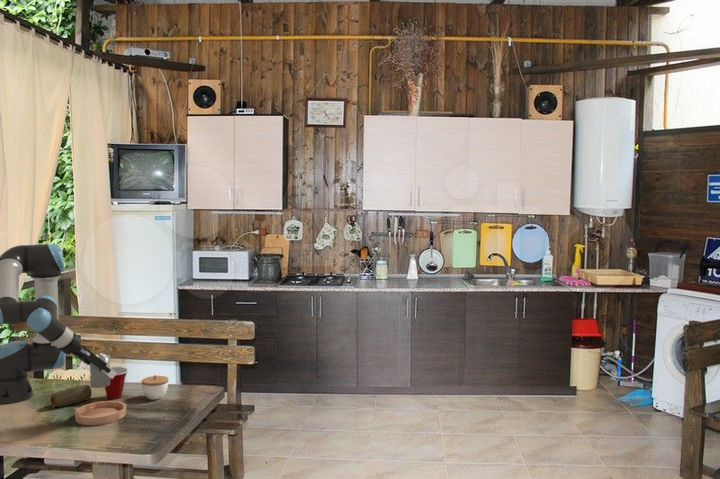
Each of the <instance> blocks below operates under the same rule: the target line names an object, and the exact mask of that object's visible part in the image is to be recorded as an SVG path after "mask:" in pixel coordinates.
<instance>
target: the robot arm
mask: <svg viewBox="0 0 720 479" xmlns="http://www.w3.org/2000/svg"><path fill="white" fill-rule="evenodd" d="M65 271H66V268H65V262H64V256H63V250H62V247H61V246H60V245H59V244H50V243H47V244H44V243H43V244H30V245H29V244H28V245H27V244H26V245H24V244H21V245H15V246H12V247H11V248H8V249H6V250H5V251H4V252H3V253H2V254H1V255H0V325H7V324H18V323H26V325H27V326H28V327H29V328H31V330H32V331H34V332H36V333H35V334H36V335H35V336H34V337H33V338H32V343H28V342H27V340H15V341H10V342H6V343H3V344H0V405H1V404H4V405H5V403H6V404H14V402H15V403H20V402H23V401H26V400H28V399H31V398H32V397H33V396H34V389H33V387H32V385H31V382H30V380H29V376H28V373H30V372H38V371H39V372H40V371H47V370H56V369H61V368H63V367H64V366H65V363H66V356H67V355H71V354H72V355H74V356H75V357H76V358H78V359H79V360H80V361H81V362H83V364H86V365H87V366H90V362H91V363H92V364H94V365H95V366H97V367H98V368H99V369H100V370H99V371H102V372H103V373H105V374H106V375H107V376H109V377H110V378H111V379H113V378H114V376H115V375H116V374H117V373H116V372H115V371H114V370H113V369H111V368H110V367H111V366H110V367H109V366H107V363H105V362H104V361H103V360H101V359H100V358H99V357H97V356H96V355H97V354H96V353H95V354H94V353H93V352H92V351H91V350H90V349H87V347H86V346H85V345H81V343H82V338H81V337H80V336H79V335H78V334H76V333H75V332H74V331H73V330H72V329H70V328H69V327H68V326H67V325H66V324H64V323H62V321H60V320H59V288H58V285H59V284H58V280H59V279H60V278H61V277H62V273H63V272H65ZM21 274H29V275H30V278H31V279H32V280H33V281H34V300H29V301H28V300H27V301H19V297H20V296H19V295H20V276H21ZM19 401H20V402H19Z"/></svg>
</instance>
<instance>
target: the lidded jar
mask: <svg viewBox="0 0 720 479" xmlns="http://www.w3.org/2000/svg"><path fill="white" fill-rule="evenodd" d="M141 388H142V392H143V394H144V396H145V397H147V399H148V400H151V401H153V400H160V399H162V398H163V397H164V395H166V393H167V392H168V388H169V378H168V377H167V376H165V375H155V374H154V375H152V376H148V377H145V378H143V379H141Z"/></svg>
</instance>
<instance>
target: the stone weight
mask: <svg viewBox="0 0 720 479" xmlns="http://www.w3.org/2000/svg"><path fill="white" fill-rule="evenodd" d="M91 398H92V387H91V385H90V384H88V385H87V384H83V385H77V386H74V387H73V386H72V387H70V388H66V389H64V390H63V389H62V390H60V391H57V392H55V393H53V394H51V395H50V399H49V400H50V404H51V405H52V407H54V408H56V407H57V408H60V407H65V406H70V405H75V404H78V403H81V402H85V401H88V400H89V399H91Z"/></svg>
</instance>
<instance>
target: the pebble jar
mask: <svg viewBox="0 0 720 479" xmlns="http://www.w3.org/2000/svg"><path fill="white" fill-rule="evenodd" d="M95 355H96V356H97V357H99V358H100V359H101V360H103V361H104V362H105V363H107V366H109V367H111V360H110V359H111V355H109V354H104V353H102V352H101V353H99V354H95ZM89 368H90V369H89V373H90V377H89V380H90V388H94V389H95V388H96V389H100V388H105V387H106V386H109V385H110V377H109V376H107V375H106V374H105V373H103V372H102V371H99V370H100V369H99V368H98V367H97V366H95V365H94V364H92V363H91V362H90V365H89Z"/></svg>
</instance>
